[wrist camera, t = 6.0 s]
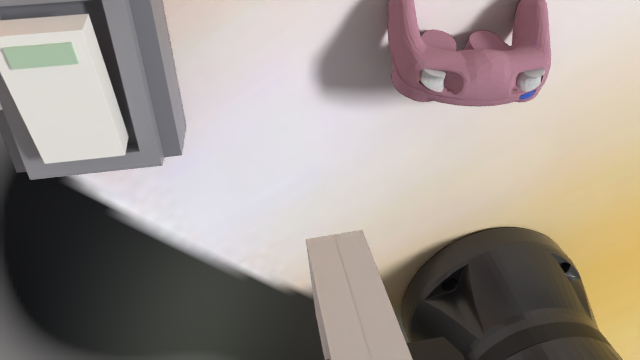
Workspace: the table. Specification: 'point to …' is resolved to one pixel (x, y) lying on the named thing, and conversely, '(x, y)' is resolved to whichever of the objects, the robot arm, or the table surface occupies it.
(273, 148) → the table surface
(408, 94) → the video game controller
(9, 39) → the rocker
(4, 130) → the power strip
